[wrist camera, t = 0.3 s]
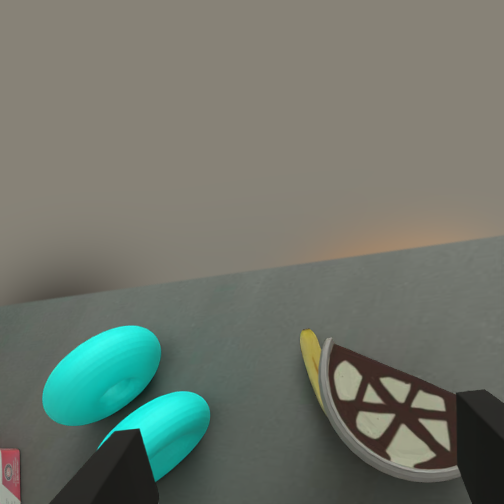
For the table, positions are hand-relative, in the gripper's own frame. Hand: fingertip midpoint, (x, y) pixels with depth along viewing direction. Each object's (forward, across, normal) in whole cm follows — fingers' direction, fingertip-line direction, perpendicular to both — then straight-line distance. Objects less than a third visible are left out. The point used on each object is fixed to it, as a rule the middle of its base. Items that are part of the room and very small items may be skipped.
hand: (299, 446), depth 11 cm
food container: (+22, -6, +19) cm, 30 cm away
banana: (+25, -2, +16) cm, 30 cm away
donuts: (+25, +13, +18) cm, 34 cm away
